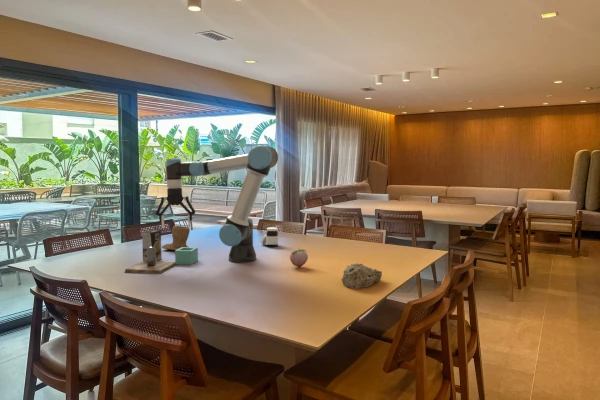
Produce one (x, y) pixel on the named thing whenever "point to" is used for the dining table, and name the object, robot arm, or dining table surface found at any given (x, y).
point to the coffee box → (152, 243)
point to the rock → (360, 276)
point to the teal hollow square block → (186, 255)
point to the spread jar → (270, 237)
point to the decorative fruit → (299, 257)
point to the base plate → (150, 267)
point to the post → (151, 256)
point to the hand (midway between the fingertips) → (176, 227)
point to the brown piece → (178, 238)
